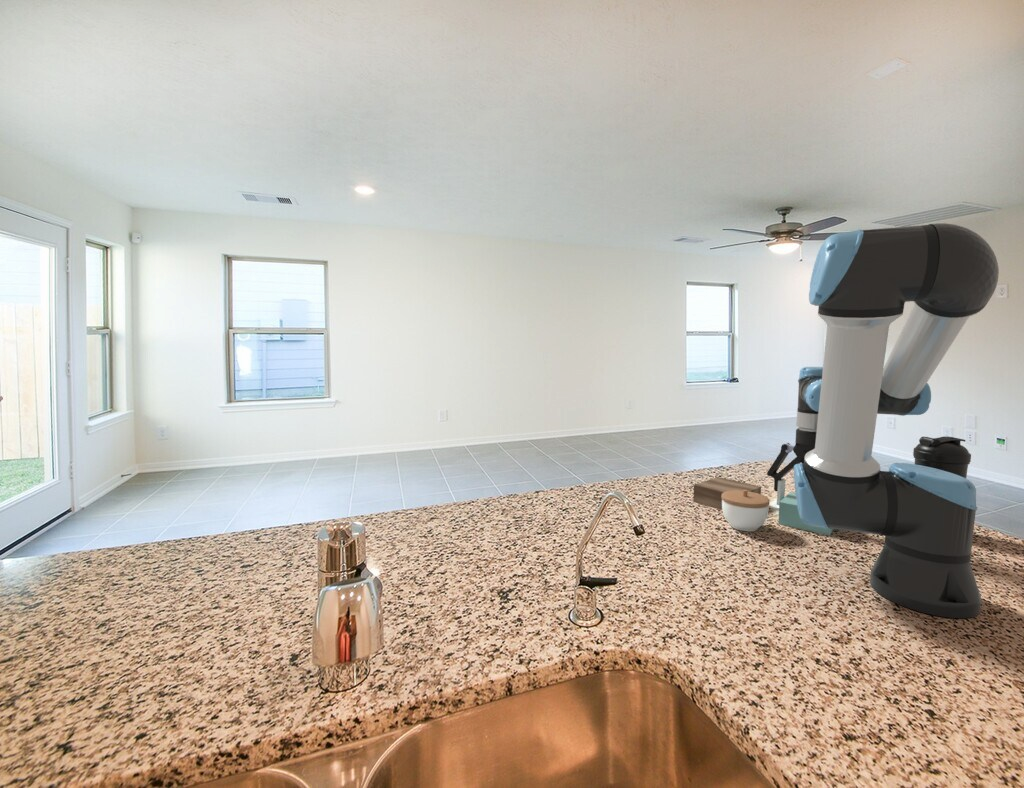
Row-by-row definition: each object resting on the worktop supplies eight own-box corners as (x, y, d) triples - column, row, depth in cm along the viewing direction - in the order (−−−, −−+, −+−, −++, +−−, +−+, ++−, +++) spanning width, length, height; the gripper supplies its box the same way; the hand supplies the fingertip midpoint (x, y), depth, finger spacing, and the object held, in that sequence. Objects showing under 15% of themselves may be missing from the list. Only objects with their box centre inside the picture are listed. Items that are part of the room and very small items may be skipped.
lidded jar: (757, 519, 123) (758, 484, 122) (775, 536, 113) (777, 497, 112) (714, 518, 124) (715, 483, 123) (729, 534, 114) (730, 496, 113)
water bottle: (976, 539, 110) (985, 442, 107) (931, 539, 110) (939, 442, 107) (937, 523, 120) (945, 433, 117) (896, 523, 120) (903, 433, 118)
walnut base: (737, 513, 127) (738, 495, 127) (693, 501, 138) (693, 484, 137) (760, 503, 135) (761, 486, 135) (717, 492, 146) (717, 476, 145)
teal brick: (829, 536, 113) (831, 512, 112) (778, 524, 120) (779, 501, 120) (837, 523, 121) (839, 500, 120) (789, 513, 128) (790, 491, 128)
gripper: (879, 434, 110) (872, 521, 113) (768, 420, 130) (765, 495, 133) (868, 439, 106) (861, 530, 108) (755, 424, 126) (752, 501, 128)
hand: (808, 511), depth 121 cm, fingers open, 13 cm apart
